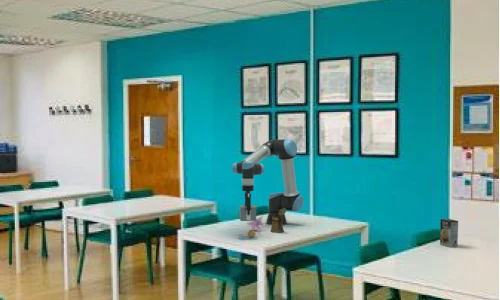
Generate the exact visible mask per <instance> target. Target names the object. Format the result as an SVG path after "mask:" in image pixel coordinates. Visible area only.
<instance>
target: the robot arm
mask: <svg viewBox="0 0 500 300" xmlns="http://www.w3.org/2000/svg"><path fill="white" fill-rule="evenodd" d="M297 154H298V146H297V143H296V142H295V140H293V139H288V138H285V139H284V138H282V139H279V138H276V139H275V138H274V139H271V140H268V141H266V142H264V143H263V144H261V145H260V146H259V148H258V149H256V150H255V151H253V153H251V154H249V155H248V156H247V157H245V158H244V159H243V160H241V161H240V162H239V161H237V162H234V163H232V166H231V170H232V172H233V174H237V175H241V177H242V178H241V183H242V185H241V188H242V189H241V191H243V192H244V205H247V209H246V220H251V205H252V204H251V203H252V201H251V200H252V192H253V191H254V188H255V187H254V181H255V179H254V178H255V177H254V176H259V175H262V174H264V173H265V166H264V164H262V163H260V162H261V161H263V160H264V159H265V158H268V157H270V156H278V159H279V161H281V169H282V178H283V185H284V186H283V187H284V192H283V191H282V192H273V193H269V194H268V215H267V216H266V217H267V218H266V222H265V224H267V225H271V226H272V218H273V215H279V214H278V212H279V210H280V209H282V208H286V212H300V211H301V209H302V208H303V205H304V197H303V196H302V195H300V191H298V190H297V182H296V173H295V165H294V159H295V157H296V155H297ZM285 214H286V213H285ZM285 214H284V215H283V226H284V225H287V218H286V217H287V216H286V215H285Z"/></svg>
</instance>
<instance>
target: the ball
mask: <svg viewBox="0 0 500 300" xmlns="http://www.w3.org/2000/svg"><path fill="white" fill-rule="evenodd" d="M247 235H248V236H249V237H254V236H255V235H256V231H255V230H251V229H249V230H248V232H247Z"/></svg>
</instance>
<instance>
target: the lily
mask: <svg viewBox="0 0 500 300" xmlns="http://www.w3.org/2000/svg"><path fill="white" fill-rule="evenodd" d="M262 221H263V215H262V216H259V217H258V218H256V221H247V223H246V224H247V225H248V226H250V227H251V229H250V230H254V231H255V230H256V231H257V232H259V233H261V232H262V227H263V226H266V224H267V223H264V222H262Z"/></svg>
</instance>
